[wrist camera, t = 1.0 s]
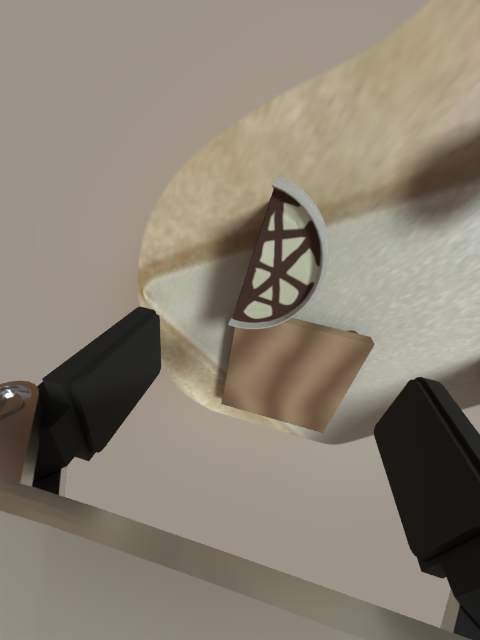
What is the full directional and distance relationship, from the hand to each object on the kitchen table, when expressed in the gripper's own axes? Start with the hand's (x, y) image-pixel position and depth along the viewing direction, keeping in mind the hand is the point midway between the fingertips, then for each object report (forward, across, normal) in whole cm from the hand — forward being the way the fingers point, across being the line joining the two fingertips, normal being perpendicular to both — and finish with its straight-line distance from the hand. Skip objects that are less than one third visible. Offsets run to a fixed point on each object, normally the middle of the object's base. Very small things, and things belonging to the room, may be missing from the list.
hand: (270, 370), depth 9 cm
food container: (+20, 0, 0) cm, 20 cm away
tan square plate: (+20, -4, +16) cm, 26 cm away
